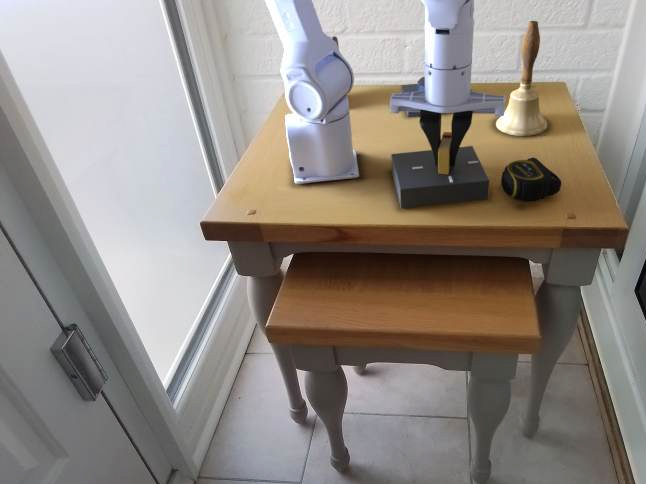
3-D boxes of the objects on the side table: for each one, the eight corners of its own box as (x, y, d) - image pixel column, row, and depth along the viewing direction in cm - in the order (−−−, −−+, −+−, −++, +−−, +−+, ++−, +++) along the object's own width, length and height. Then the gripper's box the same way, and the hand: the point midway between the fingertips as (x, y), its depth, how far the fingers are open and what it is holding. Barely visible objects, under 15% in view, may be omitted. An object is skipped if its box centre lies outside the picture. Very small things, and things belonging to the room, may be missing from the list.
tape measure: (561, 200, 72) (565, 176, 69) (515, 211, 70) (518, 186, 68) (535, 176, 77) (538, 152, 74) (491, 186, 75) (493, 162, 73)
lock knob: (448, 174, 72) (449, 148, 70) (438, 174, 73) (438, 148, 70) (452, 156, 76) (453, 131, 73) (442, 156, 76) (443, 131, 74)
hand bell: (486, 121, 91) (494, 20, 80) (526, 110, 93) (539, 11, 82) (515, 141, 85) (527, 34, 74) (557, 129, 87) (575, 24, 77)
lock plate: (400, 208, 72) (400, 188, 70) (392, 172, 80) (391, 152, 78) (488, 199, 73) (489, 179, 71) (471, 164, 80) (472, 144, 78)
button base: (408, 116, 94) (407, 94, 91) (401, 96, 100) (400, 75, 98) (475, 110, 94) (476, 87, 92) (464, 90, 101) (465, 69, 98)
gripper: (509, 50, 67) (499, 150, 76) (394, 50, 69) (398, 146, 78) (508, 71, 61) (498, 175, 71) (385, 70, 64) (390, 171, 73)
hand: (445, 162), depth 74 cm, fingers closed on lock knob
